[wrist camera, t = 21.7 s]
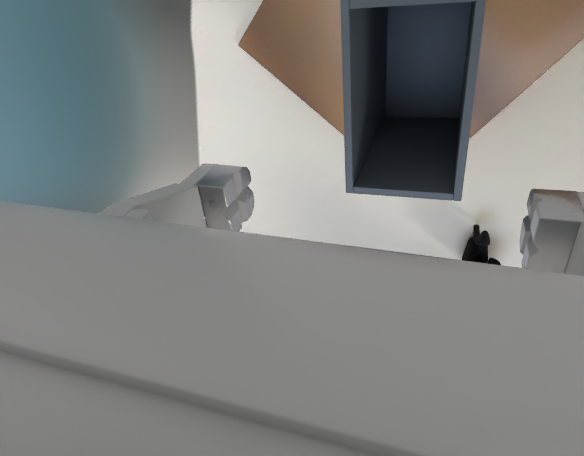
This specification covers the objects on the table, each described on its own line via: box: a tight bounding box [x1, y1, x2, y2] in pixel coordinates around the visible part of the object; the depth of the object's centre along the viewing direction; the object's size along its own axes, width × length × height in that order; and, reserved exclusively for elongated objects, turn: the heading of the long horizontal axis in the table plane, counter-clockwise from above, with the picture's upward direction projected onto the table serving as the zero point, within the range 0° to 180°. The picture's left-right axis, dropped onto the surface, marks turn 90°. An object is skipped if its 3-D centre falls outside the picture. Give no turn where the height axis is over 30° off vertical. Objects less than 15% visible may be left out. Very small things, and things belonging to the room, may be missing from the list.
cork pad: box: [238, 0, 584, 139], centre depth 29 cm, size 20×18×1 cm
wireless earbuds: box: [462, 225, 501, 265], centre depth 36 cm, size 7×2×5 cm, turn 176°
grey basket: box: [340, 0, 486, 201], centre depth 26 cm, size 12×6×10 cm
